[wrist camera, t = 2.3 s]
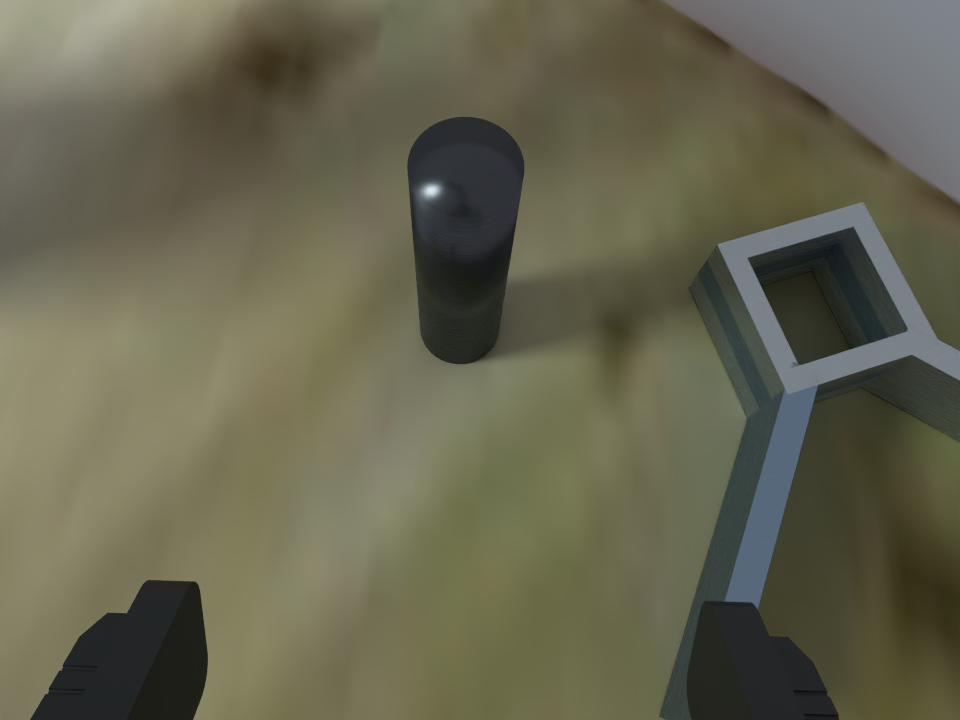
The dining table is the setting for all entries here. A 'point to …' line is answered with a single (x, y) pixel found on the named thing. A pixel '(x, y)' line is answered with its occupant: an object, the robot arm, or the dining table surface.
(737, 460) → the grey square forked frame
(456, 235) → the pin
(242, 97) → the dining table surface
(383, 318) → the dining table surface
